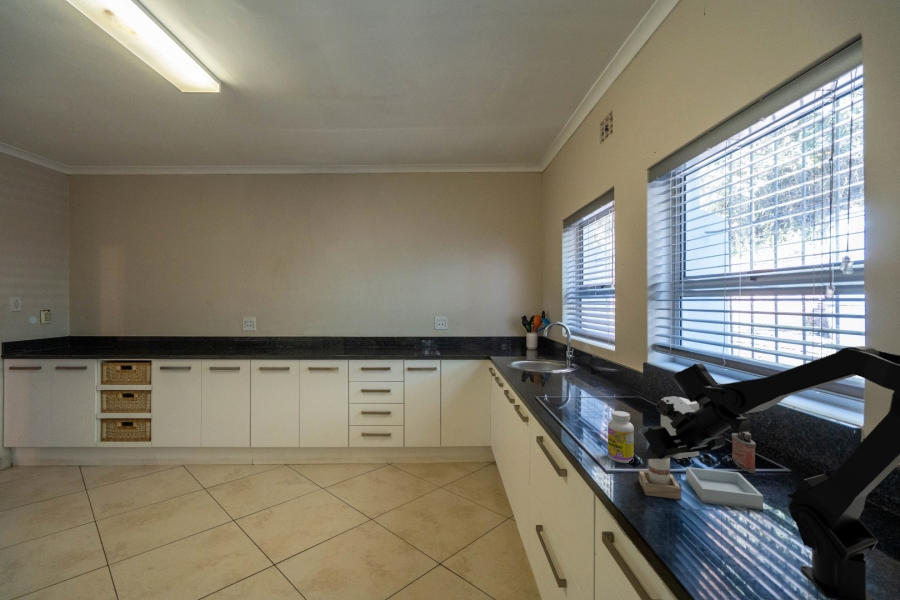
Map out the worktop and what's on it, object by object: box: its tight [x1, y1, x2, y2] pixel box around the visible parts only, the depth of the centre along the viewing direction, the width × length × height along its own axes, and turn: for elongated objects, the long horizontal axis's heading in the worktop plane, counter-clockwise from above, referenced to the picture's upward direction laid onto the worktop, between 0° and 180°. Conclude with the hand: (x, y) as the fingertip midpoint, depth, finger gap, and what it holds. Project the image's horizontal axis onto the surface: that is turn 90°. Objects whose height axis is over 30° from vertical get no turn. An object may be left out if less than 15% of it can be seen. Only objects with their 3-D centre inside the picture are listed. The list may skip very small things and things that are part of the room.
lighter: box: [731, 431, 757, 474], centre depth 102 cm, size 8×3×10 cm, turn 168°
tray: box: [685, 466, 764, 511], centre depth 87 cm, size 11×11×3 cm
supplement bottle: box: [607, 410, 635, 464], centre depth 106 cm, size 7×7×13 cm
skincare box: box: [660, 396, 700, 460], centre depth 109 cm, size 8×7×16 cm
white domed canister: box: [648, 458, 671, 485], centre depth 89 cm, size 4×4×10 cm
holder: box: [638, 469, 682, 500], centre depth 89 cm, size 7×7×2 cm
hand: (661, 453), depth 89 cm, fingers open, 9 cm apart
